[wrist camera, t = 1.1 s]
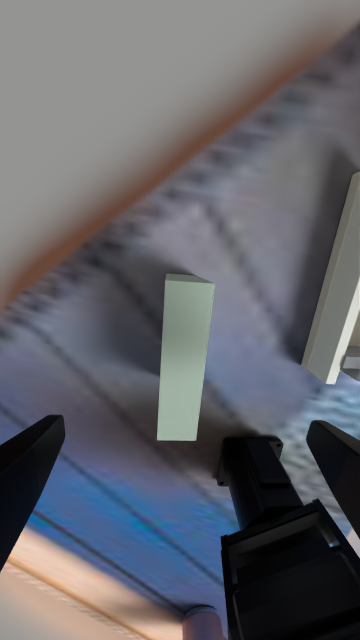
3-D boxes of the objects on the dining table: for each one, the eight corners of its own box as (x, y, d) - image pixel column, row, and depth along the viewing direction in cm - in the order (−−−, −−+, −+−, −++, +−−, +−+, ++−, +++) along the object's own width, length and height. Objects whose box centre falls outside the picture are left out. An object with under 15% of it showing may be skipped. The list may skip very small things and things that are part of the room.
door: (186, 377, 19) (196, 440, 12) (161, 376, 19) (157, 440, 12) (195, 275, 16) (214, 283, 9) (166, 273, 16) (165, 280, 9)
